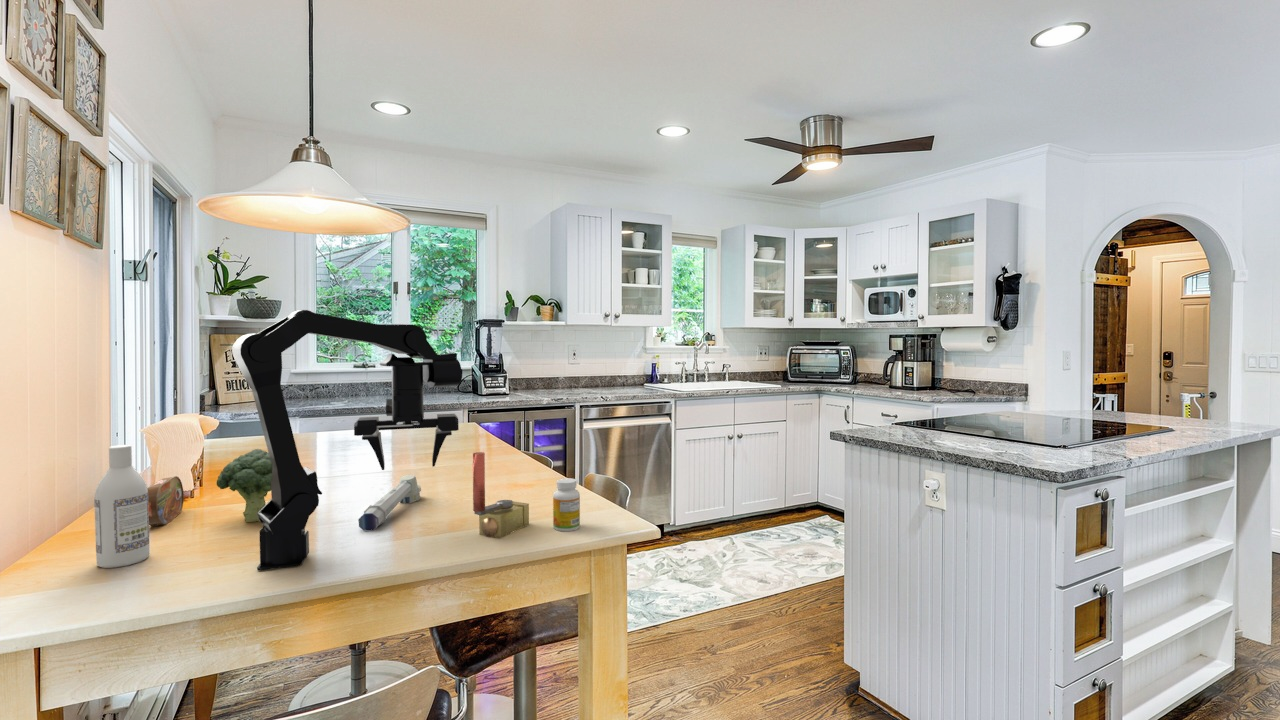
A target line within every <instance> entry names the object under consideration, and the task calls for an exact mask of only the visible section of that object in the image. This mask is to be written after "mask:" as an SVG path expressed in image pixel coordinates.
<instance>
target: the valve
mask: <svg viewBox="0 0 1280 720" xmlns="http://www.w3.org/2000/svg"><path fill="white" fill-rule="evenodd" d="M512 501H513V500H512ZM478 516H479V517H478V518H479V520H478V522H479V523H478V527H479V529H478V530H479V533H478V534H479V535H481V536H485V537H488V538H496V537H497V538H496V539H502V538H504V537H506V536H508V535H510V534H511V532H512V533H514V532H516V531H518V530H520V529H521V528H525V527H527V526H529V525H530V503H527V502H521V501H513V507H512V508H509V509H500V510H497V511H494V512H491V513H487V514H484V515H481V516H480V515H478ZM515 530H516V531H515ZM513 531H514V532H513Z"/></svg>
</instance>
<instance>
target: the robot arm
mask: <svg viewBox="0 0 1280 720" xmlns="http://www.w3.org/2000/svg"><path fill="white" fill-rule="evenodd" d="M308 334H311V335H316V336H322V337H330V338H336V339H342V340H348V341H353V342H354V341H355V342H361V343H367V344H370V345H373V346H376V347H379V348H381V349H383V350H387V351H389V352H393V353H388V354H387V356H386V357H385V358H384V359H383V360H381V361H380V362H379V365H380V366H381V367H391V398H386V399H385V415H386V416H387V417H391V418H392V419H391V420H380V419H379V417H380V416H367V417H366V416H365V417H359V418H358V419H357V420H356V421H355V422H354V423H353V431H354V432H353V434H354V435H353V436H357V437H358V436H361V439H362V441H368V443H369V444H370V447H371V448H372V450H373V451H374V454H375V456H376V458H377V462H378V463H379V466H380V469H381V470H382V471H384V470H385V468H386V467H385V466H386V465H385V456H384V455H385V454H384V449H383V443H382V432H381V431H391V430H411V429H412V430H413V429H434V428H435V431H434V432H435V433H434V441H433V449H432V450H433V451H432V457H431V458H432V459H431V461H432V464H431V465H432V468H433V467H436V463H437V459H438V457H439V455H440V454H439V453H440V451H441V448H442V446H443V444H444V442H445V439H446V438H447V437H448V436H452V435H453V434H452V433H453V432H455V431H459V417H458V416H457V414H456V413H440V414H439V413H438V414H436V417H435V418H425V416H424V415H425V413H424V412H425V411H424V383H426V385H427V387H428V388H441V387H457V386H459V385H460V383H461V382H462V379H463V368H462V366H461V363H460V361H459V360H458V354H457V353H454V352H450V353H449V352H447V353H446V352H445V353H443V354H439V353H438V354H437V352H436V351H435V350H434V348H433V347H432V345H431V344H430V343H429V341H428V339H427V338H428V337H427V335H426V332H425V331H424V328H423V327H422V326H420V325H417V324H403V323H402V324H401V323H400V324H399V323H398V324H397V323H396V324H395V323H394V324H393V323H392V324H389V323H388V324H387V323H386V324H383V323H382V324H380V323H379V324H378V323H373V322H367V321H366V322H365V321H361V320H356V319H350V318H346V317H345V318H344V317H338V316H335V315H327V314H322V313H319V312H318V313H317V312H313V311H311V310H309V309H300V310H296V311H292V312H291V313H290V314H289V315H287V316H286V317H284V318H282V319H281V320H279V321H277V322H276V323H274V324H272V325H270V326H268V327H266V328H264V329H263V330H260V331H259V332H258V333H246V334H244V335H241V336H240V337H238V338H237V339H236V341H234V343H233V344H232V348H231V350H232V356H233V358H234V361H235V362H236V364H237V367H238V368H239V371H240V373H241V374H242V376H243V378H244V380H245V381H246V383H247V384H248V385H249V387H250V389H251V392H252V395H253V400H254V403H255V407H256V411H257V414H258V418H259V421H260V425H261V430H262V433H263V437H264V441H265V445H266V449H267V453H269V456H270V460H271V464H272V477H271V491H270V493H271V499H270V500H269V501H267V502H266V505H265V506H264V507H263V508H262V509H261V510H260V511H259V512H258V513H257V516H258V518H259V520H260V521H259V522H260V524H261V525H263V526H262V527H261V529H260V530H259V564H258V565H257V567H256V570H257V571H266V570H267V571H268V570H275V569H277V570H278V569H284V568H292V567H299V566H302V565H303V563H304V561H305V560H306V559H307V558H308V556H309V553H310V537H309V536H310V533H309V532H310V531H309V530H306V526H307V524H308V521H309V518H310V516H311V515H312V514H313V513H314V512H315V511H316V509H317V507H318V506H319V503H320V497H319V495H320V496H321V495H322V494H323V492H322V491H321V489H320V488H319V485H318V475H317V471H315V470H313V469H310V468H309V467H307V466H303V465H302V463H301V461H300V457H299V454H298V453H299V452H298V448H297V445H296V444H297V443H296V440H295V437H294V433H293V428H292V425H291V421H290V417H289V414H288V410H287V405H286V402H285V398H284V394H283V390H282V386H281V382H282V371H283V361H282V360H283V357H282V353H283V352H285V351H286V350H288V349H289V348H291V347H292V346H294V345H295V344H296V343H298V341H300V340H301V339H302V338H304V337H305V336H306V335H308ZM394 353H395V354H401V355H406V356H405V357H404V356H402V357H399V356H397V355H395V354H394ZM414 359H420V360H421V359H422V361H415V360H414ZM398 423H399V424H398ZM400 423H402V424H400Z"/></svg>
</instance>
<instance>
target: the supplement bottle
mask: <svg viewBox="0 0 1280 720" xmlns="http://www.w3.org/2000/svg"><path fill="white" fill-rule="evenodd" d="M576 488H577V479H575V478H570V477H565V478H559V479H557V480H556V490H555V491H554V492H553V495H552V505H553V506H552V507H553V508H552V511H553V512H552V515H553V516H552V518H553V519H552V520H553V521H552V522H553V523H552V524H553V526H552V527H553V529H554V530H556V531H558V532H573V531H576V530H578V529H580V527H581V509H580V508H581V507H580V506H581V505H580V504H581V498H580V497H581V495H580V494H581V493H580V491H579V490H578V489H576Z"/></svg>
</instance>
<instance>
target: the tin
mask: <svg viewBox="0 0 1280 720" xmlns="http://www.w3.org/2000/svg"><path fill="white" fill-rule="evenodd" d="M147 489H148V508H149V527H150V526H152V527H153V526H154V527H155V526H161V525H162V526H163V525H164V526H165V525H168V524H169V523H171V522H172V520H174V519H175V518H176V517H178V516H179V515H180V514H181V512H182V511H183V506H184V499H185V498H184V497H185V496H184V494H185V493H184V486H183V482H182V481H181V479H180V477H179V476H172V477H164V478H161V479H160V480H158V481H156V482H155V483H153V484H151V485H150V486H147ZM167 523H168V524H167Z"/></svg>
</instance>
